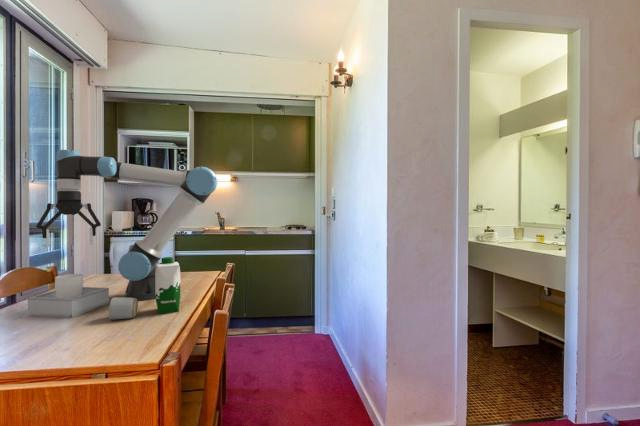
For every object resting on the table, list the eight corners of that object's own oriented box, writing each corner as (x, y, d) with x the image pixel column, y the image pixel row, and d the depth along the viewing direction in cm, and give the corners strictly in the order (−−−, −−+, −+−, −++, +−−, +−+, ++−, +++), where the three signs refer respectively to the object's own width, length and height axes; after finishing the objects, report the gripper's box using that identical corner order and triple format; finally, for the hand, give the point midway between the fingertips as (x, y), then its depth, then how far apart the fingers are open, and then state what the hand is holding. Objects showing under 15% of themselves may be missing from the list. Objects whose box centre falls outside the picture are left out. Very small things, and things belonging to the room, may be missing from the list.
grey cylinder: (134, 320, 123) (134, 298, 123) (108, 322, 120) (108, 300, 120) (140, 312, 133) (139, 292, 133) (115, 314, 130) (115, 293, 130)
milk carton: (179, 305, 141) (178, 256, 140) (181, 312, 133) (181, 259, 132) (155, 308, 137) (154, 257, 136) (156, 315, 129) (155, 261, 128)
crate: (108, 303, 143) (108, 287, 143) (72, 317, 125) (71, 299, 125) (69, 302, 146) (69, 286, 146) (27, 315, 128) (27, 297, 128)
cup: (64, 304, 140) (64, 274, 139) (88, 303, 140) (88, 273, 140) (49, 310, 131) (48, 278, 130) (74, 310, 131) (74, 278, 131)
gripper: (105, 191, 146) (106, 242, 146) (27, 190, 130) (28, 247, 131) (108, 191, 140) (108, 244, 140) (26, 189, 124) (27, 249, 125)
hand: (70, 245), depth 135 cm, fingers open, 13 cm apart
